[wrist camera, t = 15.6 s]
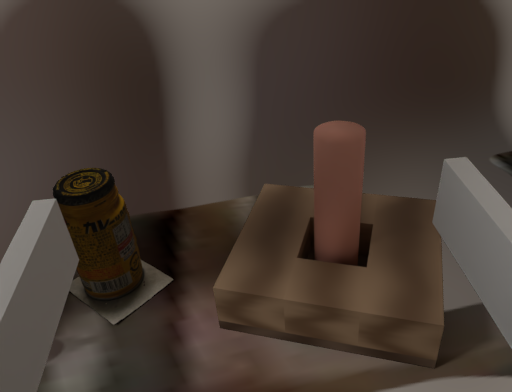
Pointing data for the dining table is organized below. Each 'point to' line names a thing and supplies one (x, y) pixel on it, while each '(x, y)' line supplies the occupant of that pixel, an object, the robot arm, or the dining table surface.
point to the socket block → (338, 279)
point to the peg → (338, 191)
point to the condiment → (105, 245)
